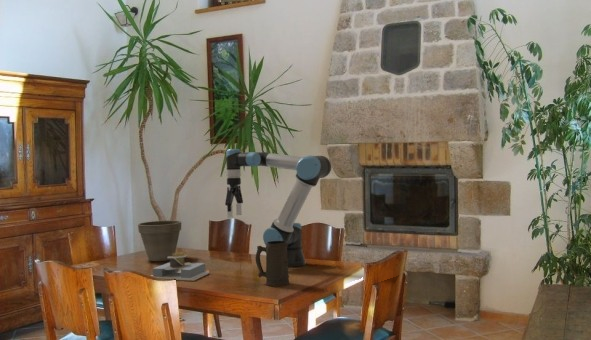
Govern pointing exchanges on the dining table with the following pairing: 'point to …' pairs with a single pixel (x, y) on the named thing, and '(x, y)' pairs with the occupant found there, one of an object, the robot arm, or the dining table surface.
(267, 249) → the beer stein
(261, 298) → the dining table surface
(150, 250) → the plant pot
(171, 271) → the tray with grey blocks
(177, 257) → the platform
